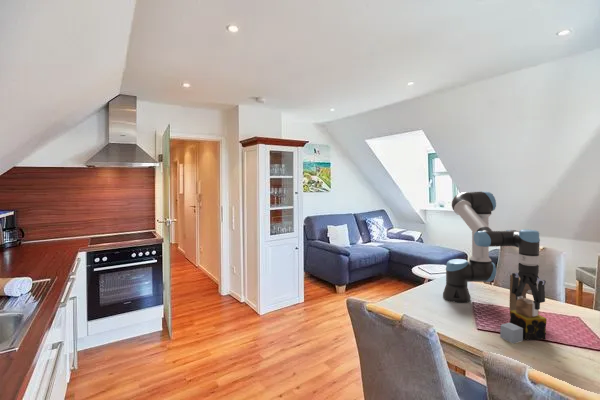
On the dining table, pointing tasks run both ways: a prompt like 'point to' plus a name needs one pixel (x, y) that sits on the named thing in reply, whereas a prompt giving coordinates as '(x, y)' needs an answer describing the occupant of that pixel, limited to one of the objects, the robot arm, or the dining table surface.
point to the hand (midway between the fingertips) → (527, 312)
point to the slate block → (511, 333)
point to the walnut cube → (524, 307)
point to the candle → (529, 325)
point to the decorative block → (513, 296)
